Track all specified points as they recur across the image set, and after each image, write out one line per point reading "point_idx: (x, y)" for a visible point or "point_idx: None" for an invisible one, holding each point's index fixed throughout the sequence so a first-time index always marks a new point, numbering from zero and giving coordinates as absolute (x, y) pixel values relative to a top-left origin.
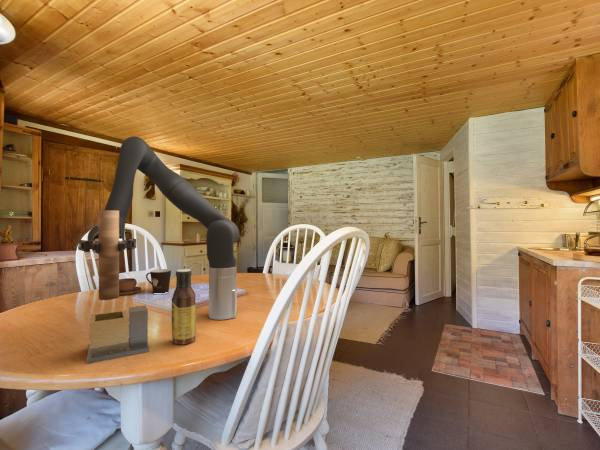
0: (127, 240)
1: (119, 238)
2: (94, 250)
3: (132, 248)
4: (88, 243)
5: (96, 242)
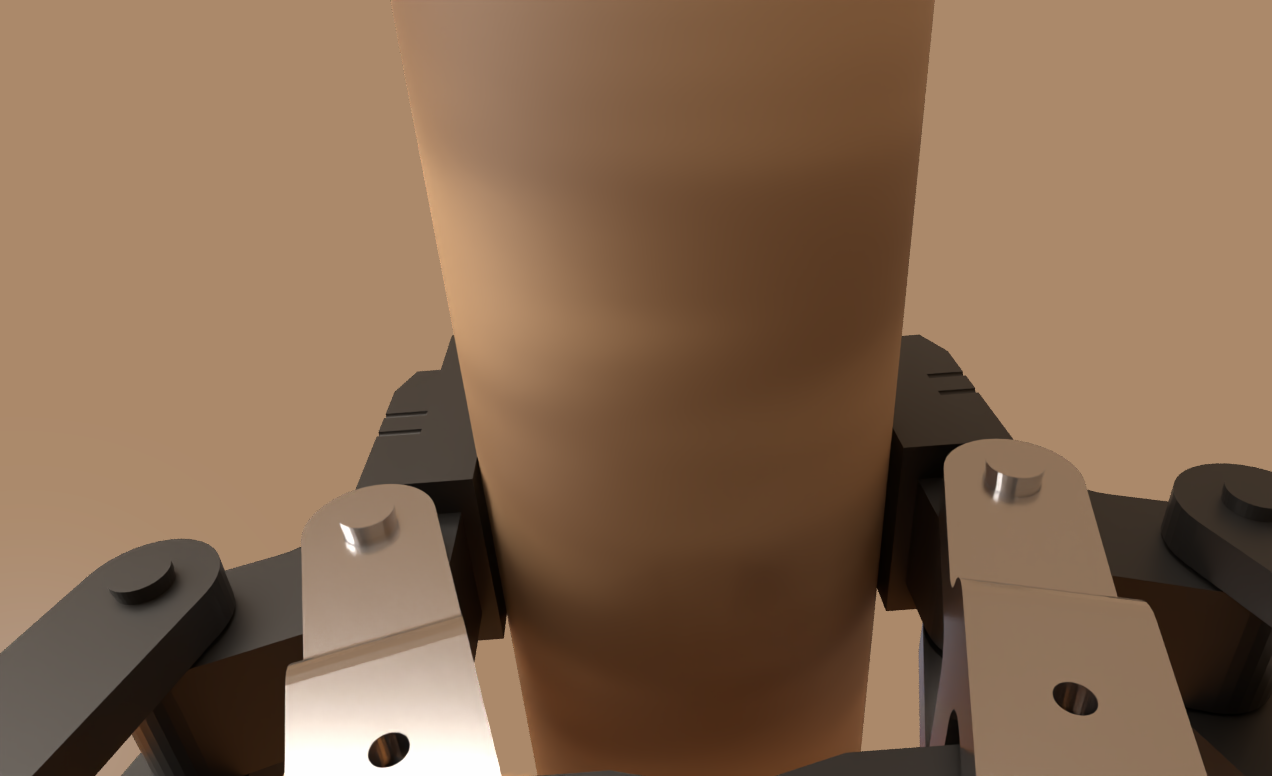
0: (199, 590)
1: (362, 647)
2: None
3: (147, 769)
4: (1177, 531)
5: (910, 374)
